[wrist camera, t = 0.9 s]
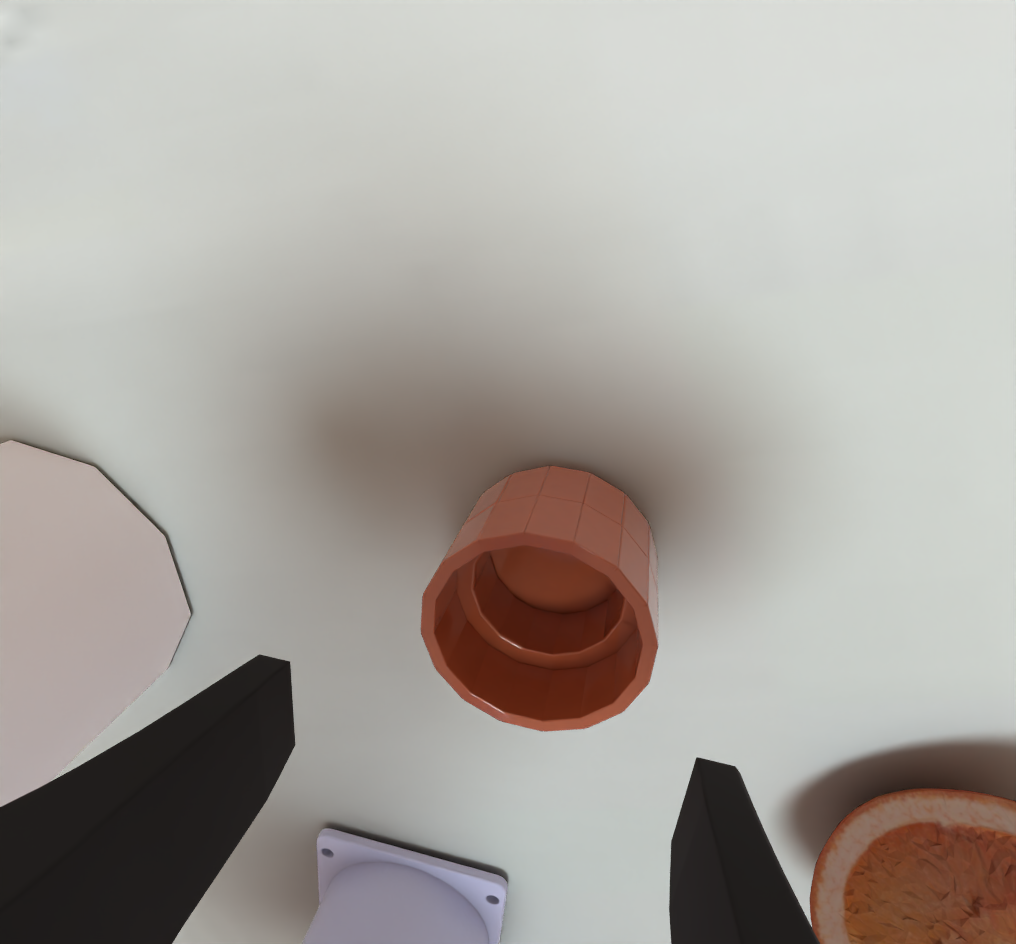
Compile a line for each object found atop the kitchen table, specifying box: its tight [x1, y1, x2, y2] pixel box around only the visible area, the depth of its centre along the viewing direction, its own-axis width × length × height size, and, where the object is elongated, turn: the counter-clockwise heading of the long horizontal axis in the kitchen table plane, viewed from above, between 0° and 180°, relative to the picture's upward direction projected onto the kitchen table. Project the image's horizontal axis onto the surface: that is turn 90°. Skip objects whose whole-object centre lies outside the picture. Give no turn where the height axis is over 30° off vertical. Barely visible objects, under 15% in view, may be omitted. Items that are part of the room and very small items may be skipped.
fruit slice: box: [810, 788, 1016, 944], centre depth 18 cm, size 8×7×5 cm
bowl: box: [421, 466, 658, 731], centre depth 17 cm, size 6×6×4 cm
